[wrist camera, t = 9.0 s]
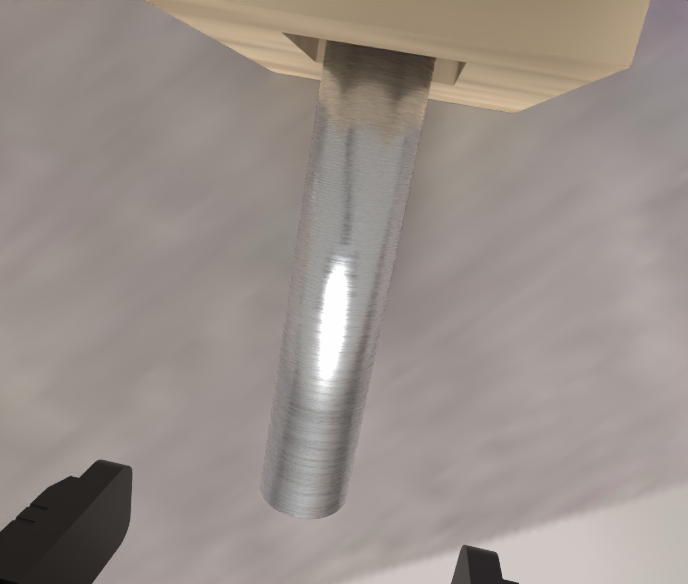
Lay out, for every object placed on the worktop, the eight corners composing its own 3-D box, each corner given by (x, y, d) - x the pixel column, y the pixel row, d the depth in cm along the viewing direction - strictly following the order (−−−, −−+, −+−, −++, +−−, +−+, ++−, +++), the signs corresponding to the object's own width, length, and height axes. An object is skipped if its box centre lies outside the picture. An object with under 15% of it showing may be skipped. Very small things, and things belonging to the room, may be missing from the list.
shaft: (365, -140, 14) (352, -212, 12) (473, -125, 14) (487, -196, 11) (273, 454, 20) (248, 506, 17) (351, 472, 19) (339, 528, 17)
